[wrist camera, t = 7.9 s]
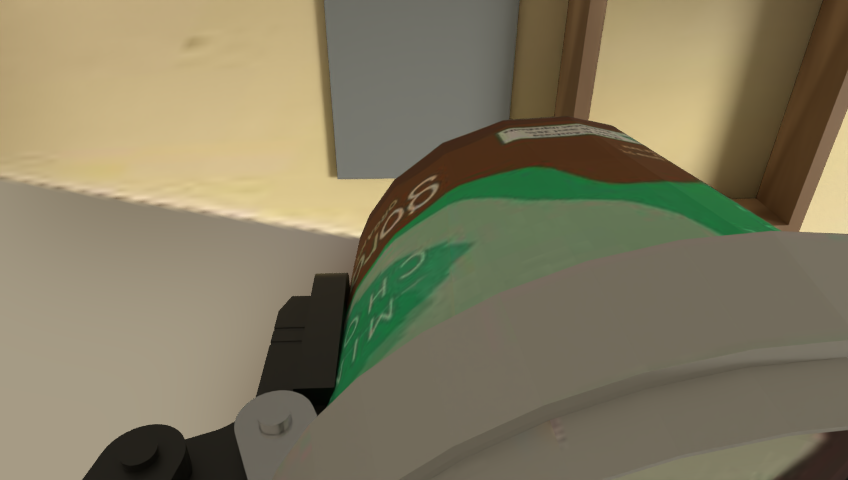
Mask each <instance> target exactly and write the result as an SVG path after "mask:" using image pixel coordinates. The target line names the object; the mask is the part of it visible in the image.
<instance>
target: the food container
mask: <svg viewBox="0 0 848 480" xmlns="http://www.w3.org/2000/svg"><path fill="white" fill-rule="evenodd" d="M847 477H848V234H836V233H811V232H787V231H781V230H780V229H778V228H776V227H775V226H773V225H771V224H770V223H768V222H767V221H765V220H763V219H762V218H760V217H759V216H757V215H755V214H754V213H752V212H751V211H749V210H747V209H746V208H744V207H742V206H741V205H739V204H738V203H736V202H734V201H733V200H731V199H730V198H728V197H726V196H725V195H723V194H722V193H720V192H718V191H717V190H715V189H713V188H712V187H710V186H709V185H707V184H705V183H704V182H702V181H701V180H699V179H697V178H696V177H694V176H693V175H691V174H689V173H688V172H686V171H684V170H683V169H681V168H680V167H678V166H676V165H675V164H673V163H672V162H670V161H668V160H667V159H665V158H664V157H662V156H660V155H659V154H657V153H655V152H654V151H652V150H651V149H649V148H647V147H646V146H644V145H643V144H641V143H639V142H638V141H636V140H634V139H633V138H631V137H630V136H628V135H626V134H625V133H623V132H622V131H620V130H618V129H617V128H615V127H614V126H611V125H607V124H602V123H597V122H593V121H588V120H583V119H579V118H574V117H570V116H560V117H545V118H530V119H515V120H502V121H500V122H497V123H494V124H492V125H489V126H486V127H484V128H481V129H478V130H476V131H473V132H470V133H468V134H465V135H462V136H460V137H457V138H454V139H452V140H449V141H446V142H443V143H442V144H440V145H439V146H438V147H436V148H435V149H434V150H432V151H431V152H430V153H429V154H427V155H426V156H425V157H423V158H422V159H421V160H419V161H418V162H417V163H416V164H414V165H413V166H412V167H410V168H409V169H408V170H406V171H405V172H404V173H403V174H401V175H400V176H399V177H397V178H396V179H395V180H394V181H393V183H392V184H391V185H390V187H389V188H388V190H387V191H386V193H385V194H384V195H383V197H382V198H381V200H380V201H379V202H378V204H377V205H376V207H375V208H374V210H373V211H372V212H371V214H370V216H369V218H368V220H367V223H366V225H365V227H364V230H363V232H362V235H361V237H360V241H359V245H358V251H357V255H356V260H355V265H354V269H353V274H352V279H351V284H350V291H349V296H348V303H347V310H346V316H345V323H344V330H343V336H342V343H341V350H340V356H339V363H338V370H337V377H336V383H335V390H334V392H333V394H332V397H331V399H330V401H329V403H328V405H327V407H326V409H325V410H324V411H322V412H321V413H320V414H319V415H318V416H317V417H316V418H315V419H314V420H313V421H312V422H311V423H310V424H309V425H308V427H307V428H306V429H305V431H304V432H303V434H302V435H301V436H300V438H299V439H298V441H297V442H296V443H295V445H294V446H293V448H292V449H291V450H290V452H289V453H288V455H287V456H286V457H285V459H284V460H283V462H282V463H281V464H280V466H279V467H278V469H277V470H276V472H275V474H274V476H273V479H272V480H845V479H846V478H847Z"/></svg>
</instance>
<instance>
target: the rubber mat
mask: <svg viewBox="0 0 848 480" xmlns="http://www.w3.org/2000/svg"><path fill="white" fill-rule="evenodd" d="M519 1H520V0H324V8H325V21H326V34H327V47H328V59H329V72H330V85H331V98H332V111H333V124H334V137H335V150H336V163H337V176H338V179H384V178H397V177H399V176H400V175H401V174H403V173H404V172H405V171H406V170H408V169H409V168H410V167H412V166H413V165H414V164H416V163H417V162H418V161H419V160H421V159H422V158H423V157H425V156H426V155H427V154H429V153H430V152H431V151H432V150H434V149H435V148H436V147H438V146H439V145H440V144H442V143H443V142H446V141H449V140H452V139H454V138H457V137H460V136H462V135H465V134H468V133H470V132H473V131H476V130H478V129H481V128H484V127H486V126H489V125H492V124H494V123H497V122H500V121H502V120H509V117H510V105H511V94H512V82H513V70H514V59H515V47H516V35H517V24H518V12H519Z"/></svg>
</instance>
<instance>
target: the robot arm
mask: <svg viewBox="0 0 848 480" xmlns="http://www.w3.org/2000/svg"><path fill="white" fill-rule="evenodd" d="M349 291H350V284H349V275H348V273H325V274H316V275H315V278H314V283H313V288H312V293H311V296H292V297H291V298H290V299H289V300H288V301H287V303H286V304H285V305H284V306H283V307H282V308H281V309H280V311H279V312H278V316H277V320H276V324H275V327H274V328H275V329H274V332H273V335H272V339H271V345H270V346H269V350H268V354H267V357H266V361H265V365H264V369H263V373H262V376H261V380H260V384H259V388H258V392H257V395H256V398H254V399H253V400H251V401H250V402H248V403H247V404H246V405H245V406H244V407H243V408H242V409H241V411H240V412H239V414H238V415H237V417H236V420H235V422H234V423H231V424H230V425H228V426H226V427H224V428H221V429H219V430H216V431H212V432H209V433H206V434H202V435H199V436H195V437H192V438H189V439H184V437H183V435H182V434H181V433H180V432H179V431H178V430H177V429H175V428H173V427H171V426H168V425H162V424H161V425H160V424H154V425H146V426H142V427H139V428H136V429H133V430H131V431H129V432H126V433H125V434H123V435H121V436H119V437H118V438H117V439H115V440H114V441H113V442H112V443H111V444H110V445H108V446H107V447H106V449H105V450H104V451H103V452H102V453H101V455H100V456H99V457H98V459H97V460H96V462H95V463H94V464H93V466H92V468H91V469H90V470H89V471H88V473H87V474H86V475H85V477H84V478H83V480H272V479H273V476H274V474H275V472H276V470H277V469H278V467H279V466H280V464H281V463H282V462H283V460H284V459H285V457H286V456H287V455H288V453H289V452H290V450H291V449H292V448H293V446H294V445H295V443H296V442H297V441H298V439H299V438H300V436H301V435H302V434H303V432H304V431H305V429H306V428H307V427H308V425H309V424H310V423H311V422H312V421H313V420H314V419H315V418H316V417H317V416H318V415H319V414H320V413H321V412H322V411H324V410H325V409H326V407H327V405H328V403H329V401H330V399H331V397H332V394H333V392H334V390H335V383H336V377H337V370H338V363H339V356H340V350H341V343H342V336H343V330H344V323H345V316H346V310H347V303H348V296H349ZM845 480H848V477H847V478H846V479H845Z"/></svg>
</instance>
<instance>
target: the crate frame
mask: <svg viewBox="0 0 848 480" xmlns="http://www.w3.org/2000/svg"><path fill="white" fill-rule="evenodd" d="M606 6H607V0H569V4H568V12H567V20H566V28H565V36H564V44H563V51H562V59H561V67H560V75H559V83H558V91H557V99H556V106H555V114H554V117H560V116H570V117H574V118H579V119H583V120H588V119H589V113H590V106H591V100H592V94H593V88H594V81H595V75H596V69H597V63H598V56H599V50H600V44H601V37H602V31H603V25H604V19H605V12H606ZM847 109H848V0H823V3H822V6H821V9H820V12H819V15H818V18H817V20H816V23H815V26H814V29H813V32H812V35H811V38H810V41H809V44H808V47H807V50H806V53H805V56H804V59H803V62H802V65H801V68H800V70H799V73H798V76H797V79H796V82H795V85H794V88H793V91H792V94H791V97H790V100H789V103H788V106H787V109H786V112H785V115H784V118H783V120H782V123H781V126H780V129H779V132H778V135H777V138H776V141H775V144H774V147H773V150H772V153H771V156H770V159H769V162H768V165H767V168H766V171H765V173H764V176H763V179H762V182H761V185H760V188H759V191H758V194H757V197H756V198H750V199H731V200H733V201H734V202H736V203H738V204H739V205H741V206H742V207H744V208H746V209H747V210H749V211H751V212H752V213H754V214H755V215H757V216H759V217H760V218H762V219H763V220H765V221H767V222H768V223H770V224H771V225H773V226H775V227H776V228H778V229H780V230H781V231H787V232H799V230H800V228H801V225H802V223H803V220H804V218H805V215H806V212H807V210H808V207H809V205H810V202H811V200H812V197H813V195H814V192H815V190H816V187H817V185H818V182H819V180H820V177H821V175H822V172H823V170H824V167H825V165H826V162H827V159H828V157H829V154H830V152H831V149H832V147H833V144H834V142H835V139H836V137H837V134H838V132H839V129H840V127H841V124H842V122H843V119H844V117H845V114H846V112H847Z"/></svg>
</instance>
